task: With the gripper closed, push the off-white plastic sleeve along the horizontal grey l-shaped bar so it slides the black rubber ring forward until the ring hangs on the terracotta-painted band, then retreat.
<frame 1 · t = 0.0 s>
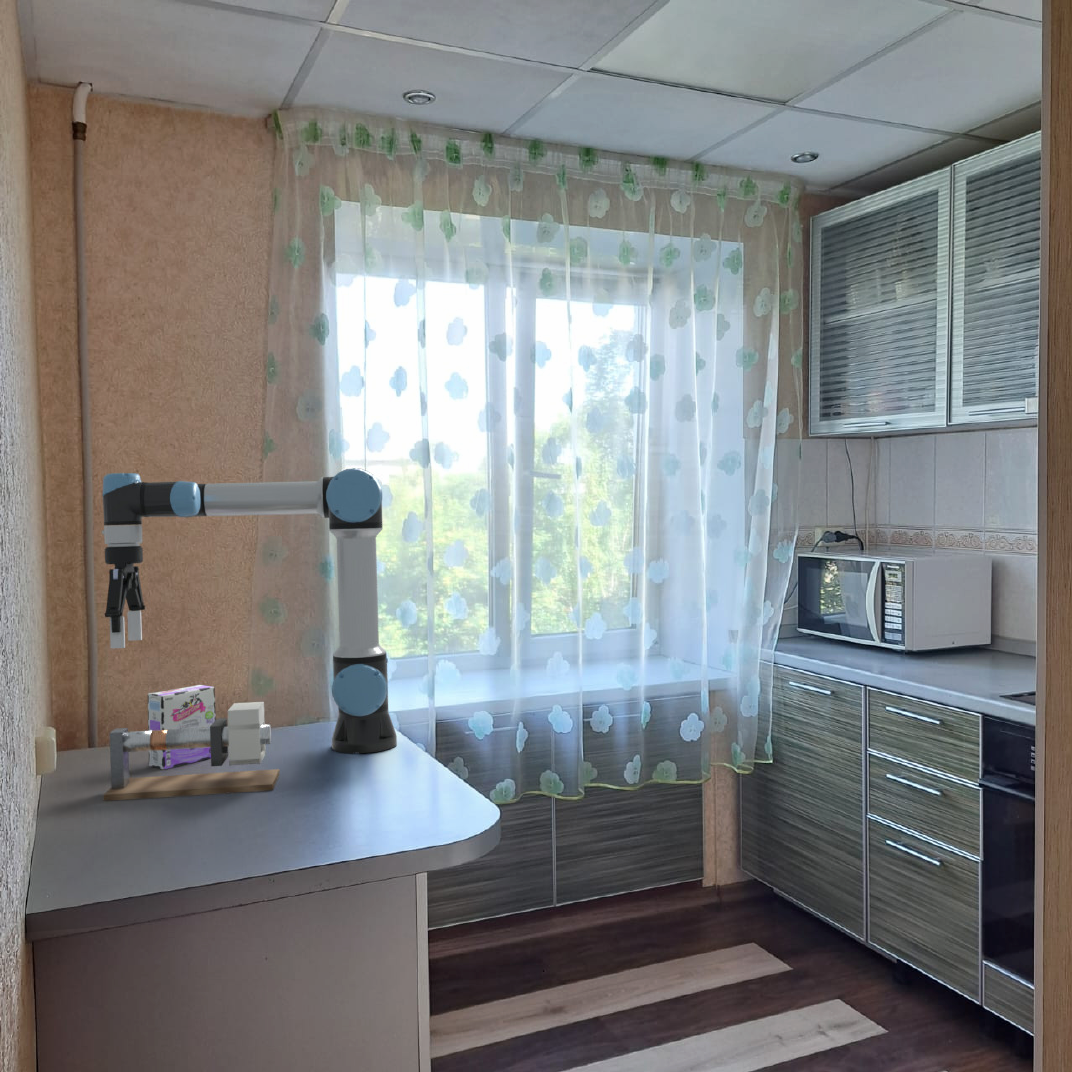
hand: (126, 644, 209), 28 cm above the countertop, fingers open, 13 cm apart
board: (195, 787, 198), on the countertop
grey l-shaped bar: (192, 754, 197), on the board, point 7 cm above the countertop
candy box: (183, 762, 219), on the countertop
sleeve: (247, 759, 199), point 5 cm above the countertop, touching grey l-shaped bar
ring: (219, 761, 198), point 5 cm above the countertop, touching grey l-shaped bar
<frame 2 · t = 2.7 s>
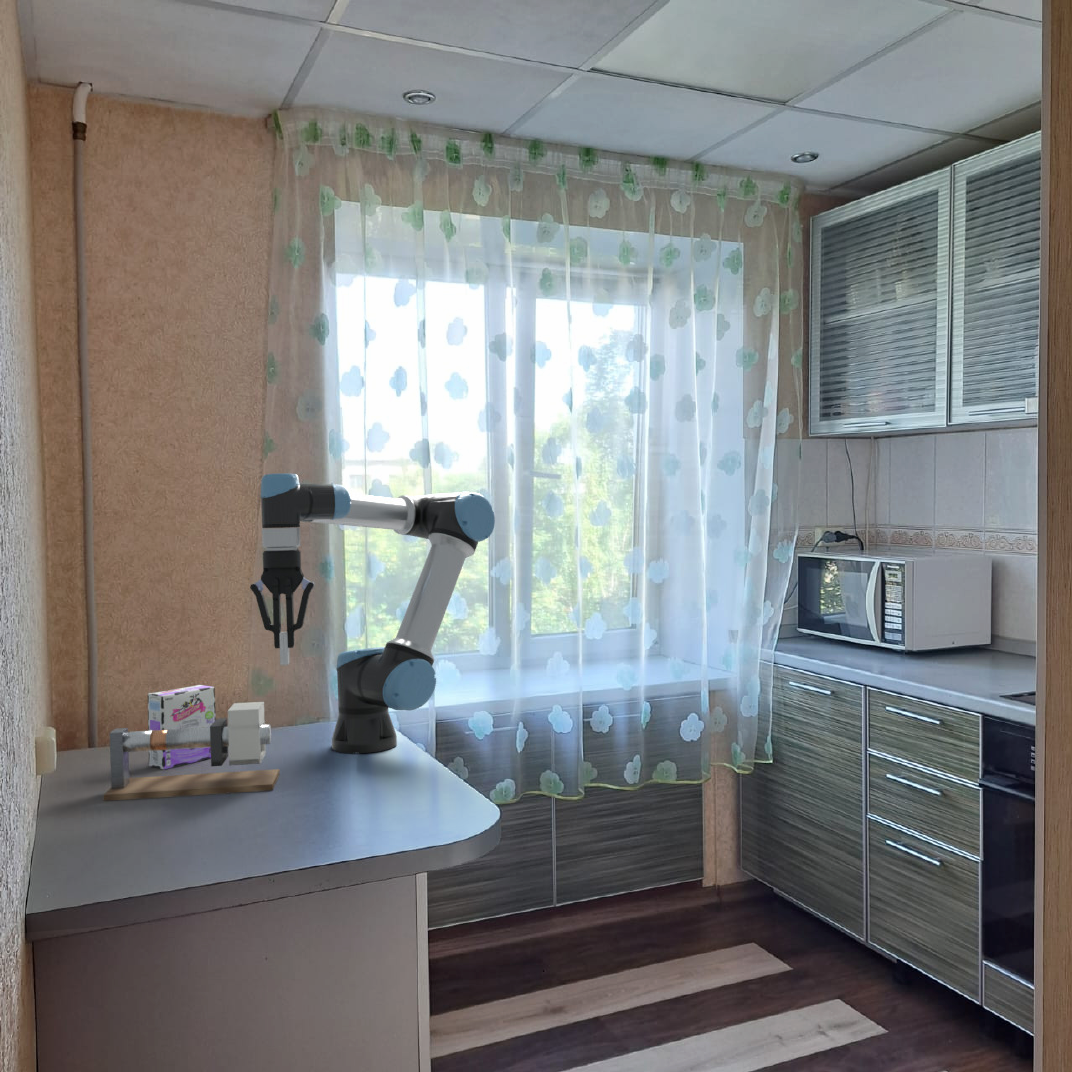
hand: (284, 663, 200), 24 cm above the countertop, fingers closed
nothing on the countertop moved.
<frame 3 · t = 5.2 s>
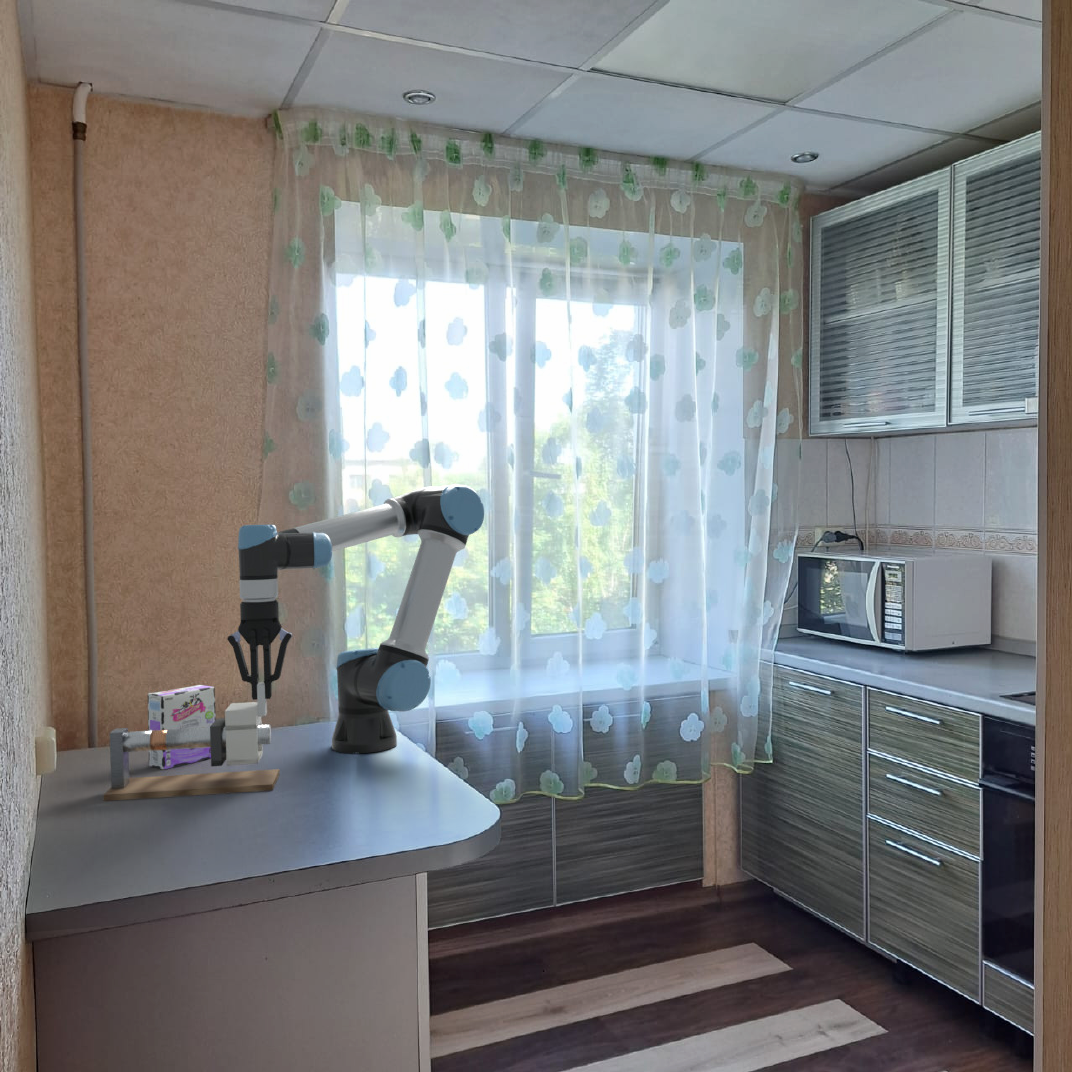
hand: (262, 715, 199), 14 cm above the countertop, fingers closed
sleeve: (245, 759, 199), point 5 cm above the countertop, touching gripper
everything else where it was.
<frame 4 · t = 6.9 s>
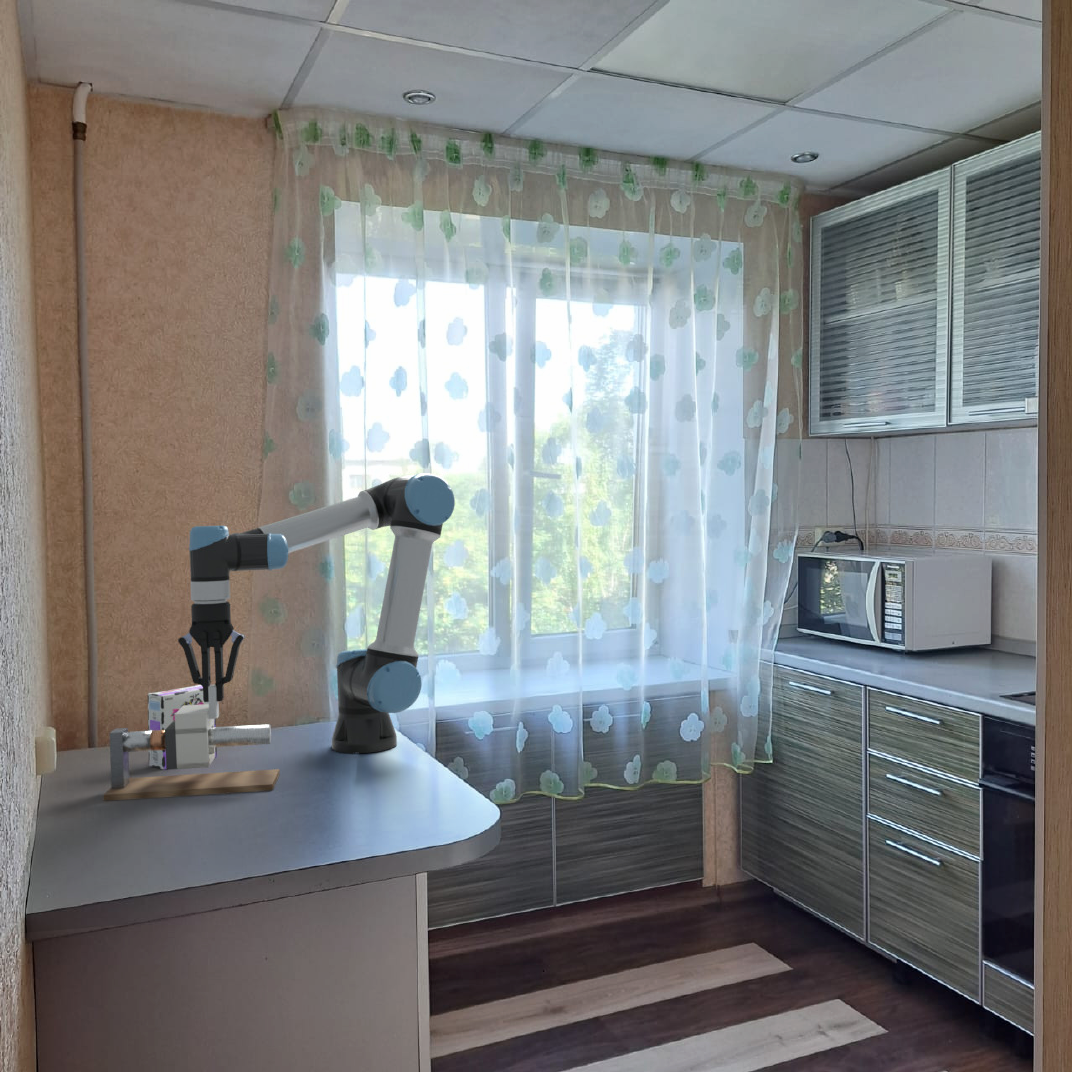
hand: (214, 717, 198), 14 cm above the countertop, fingers closed
sleeve: (196, 762, 198), point 5 cm above the countertop, touching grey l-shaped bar, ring
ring: (176, 763, 197), point 5 cm above the countertop, touching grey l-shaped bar, sleeve
everything else where it was.
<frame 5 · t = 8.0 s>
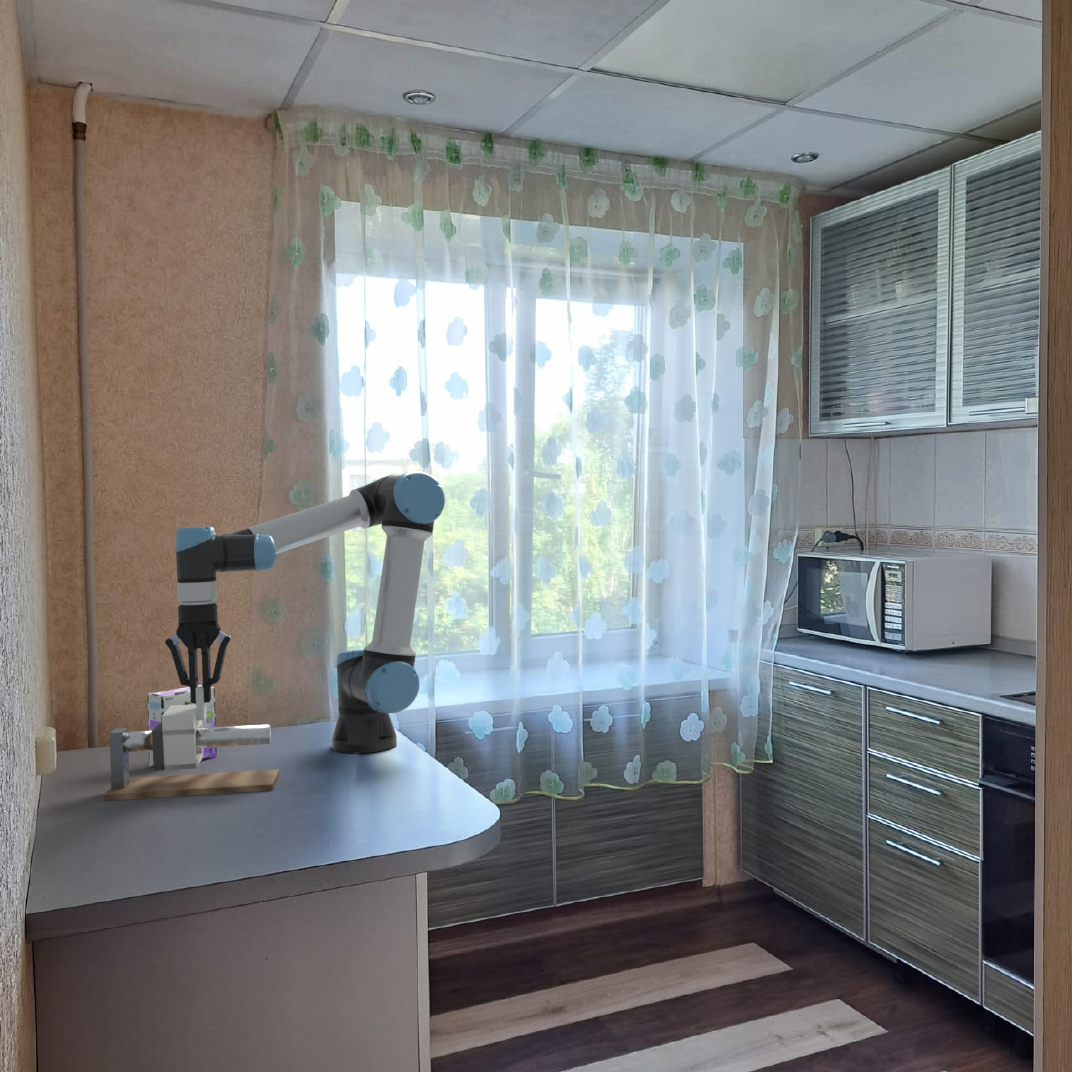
hand: (201, 718, 198), 14 cm above the countertop, fingers closed
sleeve: (184, 763, 198), point 5 cm above the countertop, touching gripper, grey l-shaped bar
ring: (163, 764, 197), point 5 cm above the countertop, touching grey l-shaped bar
everything else where it was.
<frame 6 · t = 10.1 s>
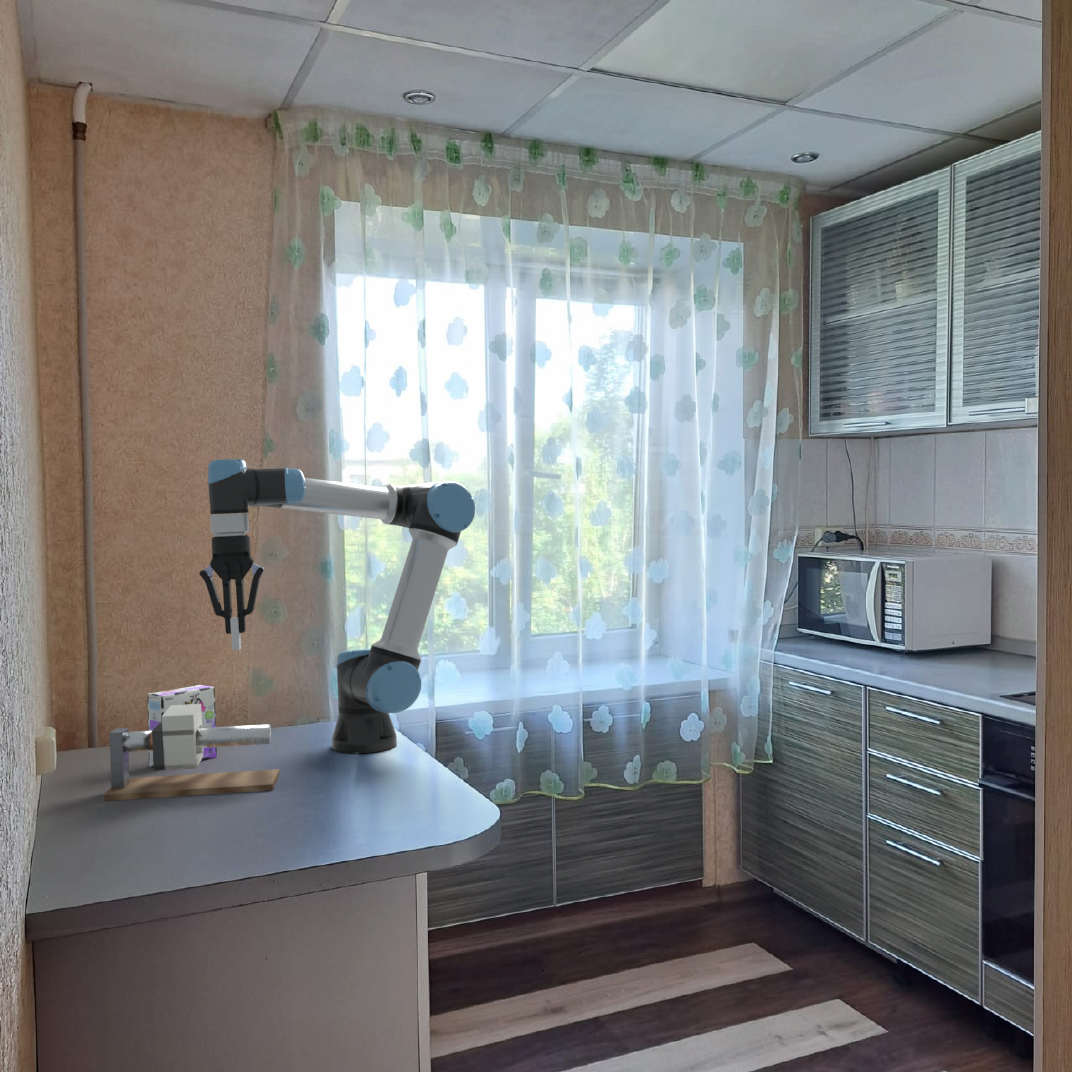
hand: (236, 649, 201), 27 cm above the countertop, fingers closed
sleeve: (184, 762, 198), point 5 cm above the countertop, tilted 5°, touching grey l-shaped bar
everything else where it was.
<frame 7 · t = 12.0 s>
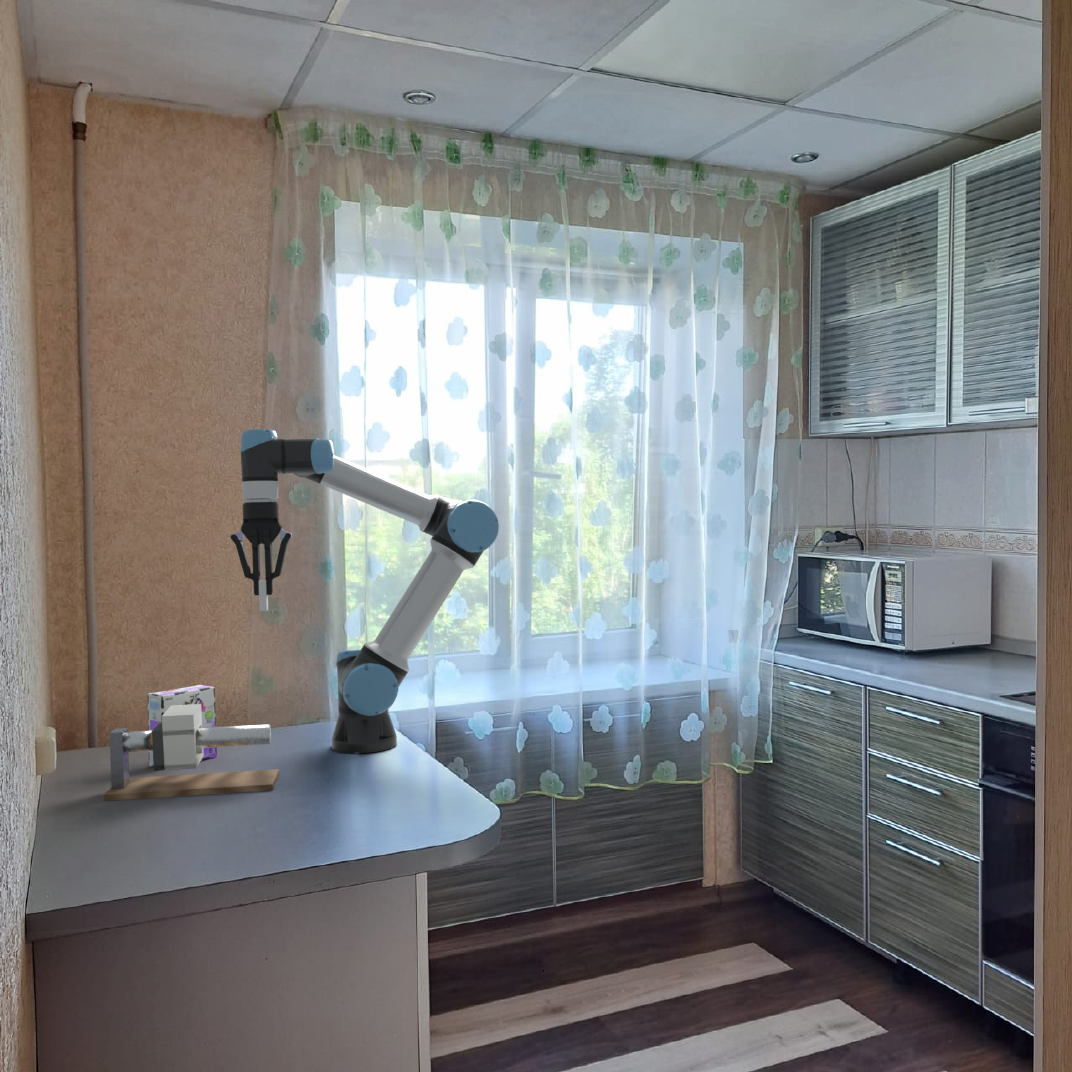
hand: (263, 610, 211), 34 cm above the countertop, fingers closed
nothing on the countertop moved.
at the end: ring 0.5 cm from the target spot on the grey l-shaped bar, point 5.0 cm above the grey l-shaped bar's base; sleeve moved 12.5 cm from its start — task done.
